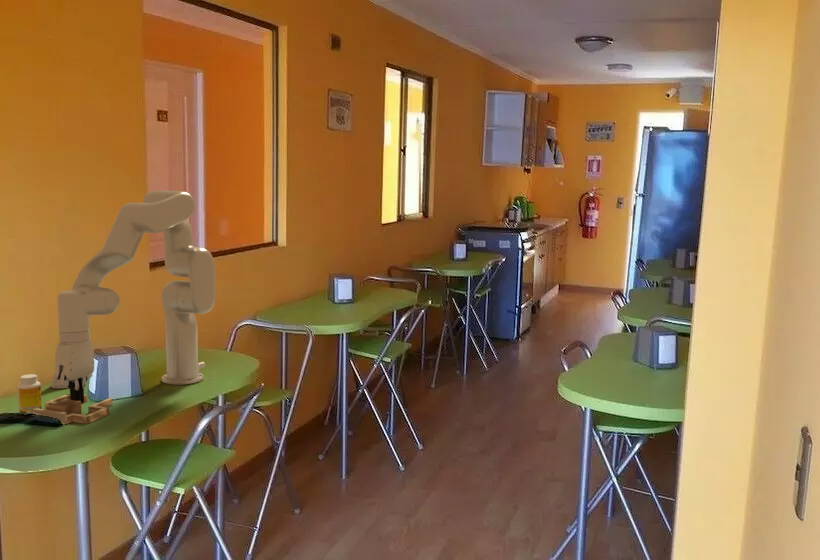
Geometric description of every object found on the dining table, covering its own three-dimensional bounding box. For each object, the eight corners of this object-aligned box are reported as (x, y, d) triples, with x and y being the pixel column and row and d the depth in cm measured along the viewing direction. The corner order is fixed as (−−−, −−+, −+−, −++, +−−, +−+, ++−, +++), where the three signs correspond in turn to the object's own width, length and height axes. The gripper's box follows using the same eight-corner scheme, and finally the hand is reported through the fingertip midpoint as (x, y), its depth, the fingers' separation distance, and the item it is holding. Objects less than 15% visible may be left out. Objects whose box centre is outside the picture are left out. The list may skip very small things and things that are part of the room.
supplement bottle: (44, 413, 198) (42, 376, 197) (21, 417, 195) (19, 380, 193) (39, 408, 202) (37, 372, 201) (16, 412, 199) (14, 375, 197)
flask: (49, 390, 219) (47, 357, 218) (51, 383, 226) (49, 352, 225) (75, 388, 222) (74, 355, 221) (77, 381, 229) (75, 350, 227)
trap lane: (70, 399, 211) (69, 389, 210) (126, 407, 205) (126, 396, 205) (18, 418, 194) (18, 407, 193) (78, 427, 188) (78, 416, 187)
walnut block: (66, 413, 200) (65, 399, 199) (81, 415, 198) (81, 401, 198) (46, 421, 193) (45, 406, 193) (62, 423, 192) (61, 408, 191)
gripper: (83, 330, 206) (86, 393, 208) (41, 341, 192) (44, 409, 194) (105, 332, 204) (107, 396, 206) (64, 343, 190) (67, 412, 192)
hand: (77, 402), depth 200 cm, fingers closed
